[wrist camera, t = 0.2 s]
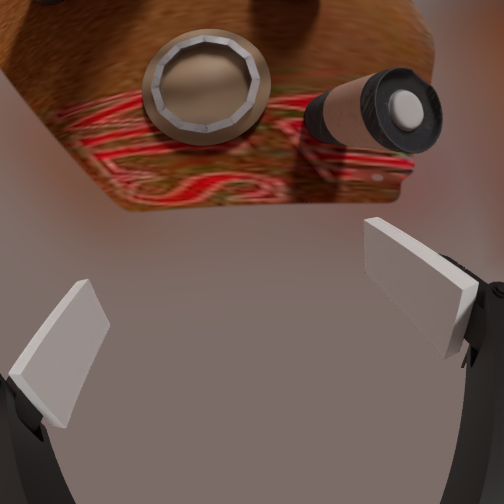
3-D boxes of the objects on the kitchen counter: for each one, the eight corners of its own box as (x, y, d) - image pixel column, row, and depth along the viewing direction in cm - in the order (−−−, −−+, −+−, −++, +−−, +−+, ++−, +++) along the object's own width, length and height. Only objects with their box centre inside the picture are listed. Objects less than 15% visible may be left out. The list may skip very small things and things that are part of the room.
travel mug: (312, 151, 38) (388, 165, 19) (294, 101, 35) (359, 71, 16) (358, 136, 37) (451, 144, 19) (341, 88, 34) (428, 62, 16)
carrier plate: (132, 57, 30) (125, 52, 27) (248, 20, 29) (250, 12, 27) (165, 162, 36) (160, 164, 34) (284, 125, 36) (289, 124, 33)
